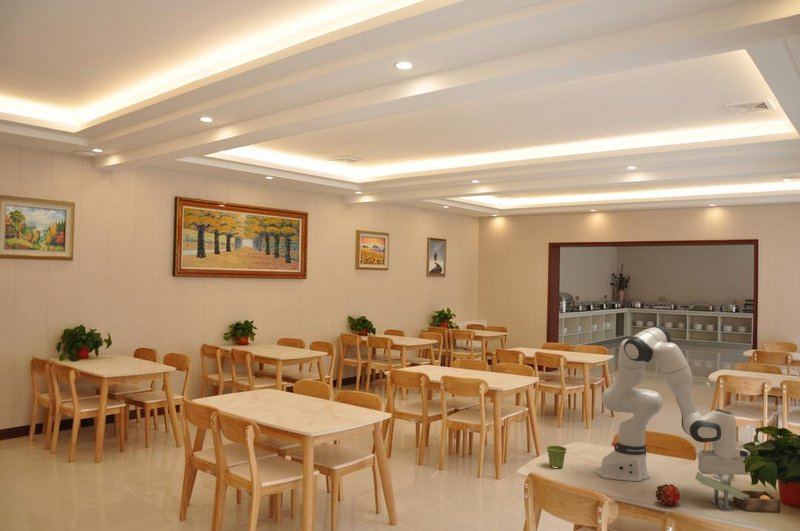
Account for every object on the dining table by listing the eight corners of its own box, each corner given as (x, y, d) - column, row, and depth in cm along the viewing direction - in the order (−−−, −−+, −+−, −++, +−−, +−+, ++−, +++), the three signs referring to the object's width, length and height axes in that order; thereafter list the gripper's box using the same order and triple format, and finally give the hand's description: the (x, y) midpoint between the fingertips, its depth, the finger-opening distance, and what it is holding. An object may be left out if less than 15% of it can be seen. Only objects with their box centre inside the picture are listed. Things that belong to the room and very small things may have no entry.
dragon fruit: (657, 511, 237) (673, 509, 245) (675, 503, 233) (691, 501, 240) (647, 489, 242) (663, 487, 249) (664, 481, 237) (680, 479, 244)
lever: (701, 483, 237) (704, 477, 237) (688, 472, 250) (690, 466, 250) (747, 501, 236) (749, 494, 236) (731, 489, 249) (733, 483, 249)
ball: (761, 505, 236) (764, 496, 236) (755, 502, 240) (759, 492, 240) (771, 509, 236) (774, 499, 236) (765, 505, 240) (769, 495, 240)
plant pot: (569, 465, 289) (569, 447, 290) (563, 471, 281) (563, 452, 282) (550, 462, 294) (550, 444, 295) (543, 467, 286) (543, 449, 287)
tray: (745, 511, 234) (745, 499, 234) (733, 501, 244) (733, 490, 244) (780, 512, 233) (780, 500, 233) (766, 502, 243) (766, 491, 243)
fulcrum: (721, 510, 234) (721, 491, 235) (709, 500, 245) (709, 482, 245) (733, 510, 234) (733, 491, 234) (721, 500, 244) (721, 482, 245)
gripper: (701, 452, 244) (702, 487, 244) (754, 452, 242) (755, 488, 242) (694, 448, 251) (695, 482, 250) (747, 448, 249) (748, 483, 248)
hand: (725, 485), depth 246 cm, fingers closed
